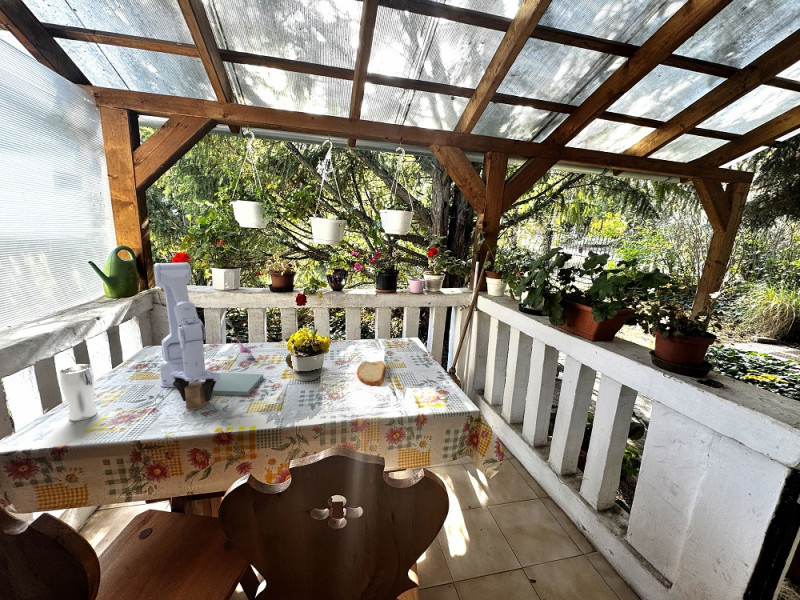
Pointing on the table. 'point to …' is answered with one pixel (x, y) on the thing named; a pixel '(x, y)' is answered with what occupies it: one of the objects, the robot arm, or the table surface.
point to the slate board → (236, 384)
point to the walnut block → (195, 396)
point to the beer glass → (79, 391)
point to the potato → (289, 361)
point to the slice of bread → (371, 373)
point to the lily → (244, 349)
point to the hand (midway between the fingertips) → (197, 400)
